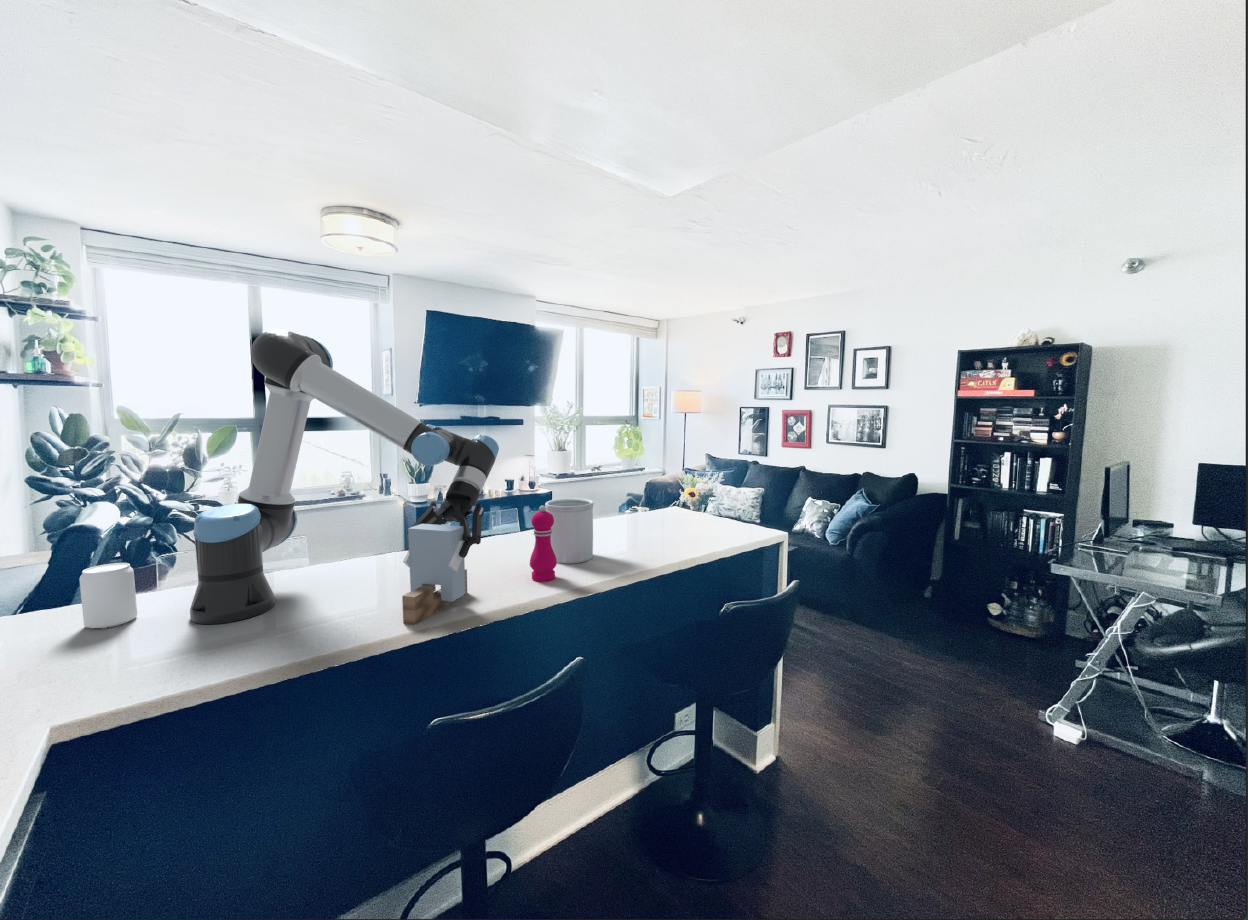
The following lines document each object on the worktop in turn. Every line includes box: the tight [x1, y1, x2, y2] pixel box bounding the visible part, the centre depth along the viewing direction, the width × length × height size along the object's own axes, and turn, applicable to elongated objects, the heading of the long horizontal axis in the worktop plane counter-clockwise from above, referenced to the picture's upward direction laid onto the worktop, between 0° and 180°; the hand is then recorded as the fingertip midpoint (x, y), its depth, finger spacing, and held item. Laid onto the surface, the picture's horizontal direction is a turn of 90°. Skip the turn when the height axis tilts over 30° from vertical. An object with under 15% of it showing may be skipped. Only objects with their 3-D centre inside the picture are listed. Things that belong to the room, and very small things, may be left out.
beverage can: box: [78, 562, 138, 629], centre depth 110 cm, size 8×8×12 cm
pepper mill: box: [529, 505, 558, 582], centre depth 140 cm, size 7×7×20 cm
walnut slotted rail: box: [401, 568, 468, 625], centre depth 119 cm, size 20×3×6 cm, turn 165°
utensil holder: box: [544, 497, 594, 564], centre depth 160 cm, size 15×15×18 cm
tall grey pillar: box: [407, 524, 466, 602], centre depth 119 cm, size 11×5×16 cm, turn 75°
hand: (429, 567), depth 116 cm, fingers closed on tall grey pillar, 11 cm apart
